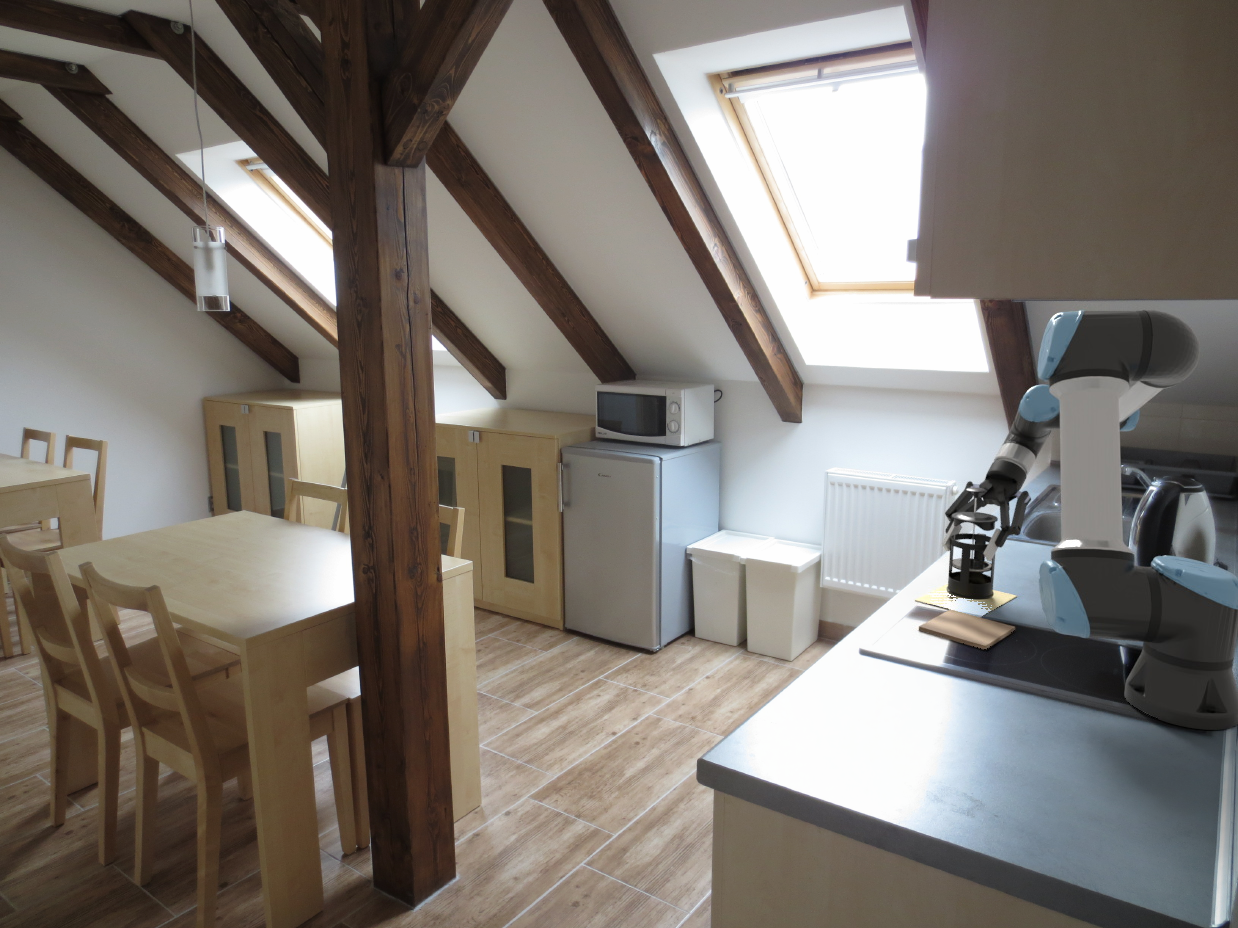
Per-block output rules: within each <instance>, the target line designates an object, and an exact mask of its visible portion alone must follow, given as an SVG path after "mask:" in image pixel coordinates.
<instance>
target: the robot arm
mask: <svg viewBox="0 0 1238 928" xmlns="http://www.w3.org/2000/svg"><path fill="white" fill-rule="evenodd" d="M1200 355H1201V346H1200V342H1199V339H1198V336H1197V335H1196V333H1195V332H1194V330H1193V329H1192V327H1190V326H1189V324H1187V323H1186V322H1185V321H1184V320H1182V319H1181V318H1179V317H1177V316H1175V315H1173V314H1170V313H1168V312H1164V311H1159V310H1155V309H1154V310H1153V309H1151V310H1150V309H1149V310H1147V309H1144V310H1084V309H1081V310H1076V311H1075V310H1073V311H1062V312H1061V311H1060V312H1057V313H1056V314H1054V315H1053V316H1052V317H1051V318H1050V320H1049V321H1048V323H1047V325H1046V327H1045V330H1044V333H1043V337H1042V340H1041V344H1040V349H1039V354H1038V360H1037V361H1038V362H1037V377H1038V379H1039V380H1042V381H1044V382H1048V384H1038V385H1037V384H1036V385H1034V386H1031V387H1030V388H1029V389H1028V390H1027V391H1026V392H1025V394H1023V396H1022V398H1021V400H1020V403H1019V405H1018V409H1017V412H1016V415H1015V418H1014V419H1013V422H1012V425H1011V427H1010V430H1009V431H1008V434H1007V436H1006V437H1005V440H1004V442H1003V443H1002V444H1001V446H1000V448H999V450H998V452H997V454H996V455H995V457H994V459H993V462H992V463H991V464H990V467H989V468H988V470H987V472H986V475H985V478H984V480H983V481H982V482H980V483H979V484H978V483H973V482H972V481H971V480H969V481H967V482H966V485H965V487H964V490H962V492H961V493H960V494H959V495H958V496H957V498H956V499H955V500H954V501H953V502H952V504H951V505H950V506H949V507H948V509H947V510H946V511H945V513H944V515H945V516H946V518H947V520H948V521H949V523H948V524H947V526H946V528H945V534H946V535H945V536H944V539H943V541H942V542H941V544H942V546H943V548H944V551H947V552H950V542H951V536H953V535H954V540H955V535H956V534H960V532H961V530H962V529H963V526H962V525H961V524H960V525H958V526H954V518H953V517H952V514H954V513H957V512H974V506H975V498H974V492H969V491H966V489H967V488H972V487H976V488H983V489H986V490H987V492H984V493H979V495H978V498H977V503H976V512H978V511H979V510H980V509H981V508H985V507H987V506H988V505H992V506H993V505H995V506H996V507H999V516H1000V526H999V527H1000V528H996V527H995V529H994V532H993V534H992V536H991V537H992V538H991V540H990V542H987V544H988V545H987V547H986V549H985V551H984V553H983V554H984V556H985V559H986V560H987V561H986V562H992V558H993V556H994V554H995V555H996V552H997V550H998V549H999V548H1003V547H1004V545H1005V543H1006V541H1007V540H1008V537H1010V536H1011V535H1014V536H1020V534H1021V531H1022V527H1023V524H1024V519H1025V514H1026V510H1027V506H1028V505H1029V504H1030V502H1031V500H1032V497H1031V496H1030V493H1029V492H1028V491H1027V490H1022V491H1021V489H1022V488H1023V485H1024V484H1025V482H1026V479H1027V476H1028V475H1029V473H1030V472H1031V471H1032V470H1031V469H1032V467H1033V466H1034V464H1035V462H1036V460H1037V458H1038V456H1039V454H1040V452H1041V450H1042V449H1043V447H1044V445H1045V443H1046V441H1047V439H1048V438H1049V436H1050V434H1051V432H1052V430H1055V431H1056V430H1057V431H1058V430H1059V443H1060V444H1059V447H1060V448H1059V451H1060V452H1059V453H1060V454H1059V455H1060V456H1059V458H1060V459H1059V461H1060V462H1059V463H1060V526H1061V527H1060V539H1061V540H1060V542H1059V543H1058V544H1057V545H1055V546H1054V547H1053V548H1052V549H1051V550H1050V558H1049V559H1048V558H1047V560H1046V559H1045V560H1043V561H1042V562H1041V564H1040V566H1039V570H1038V574H1039V578H1038V587H1039V597H1040V603H1041V607H1042V610H1043V613H1044V616H1045V619H1046V621H1047V623H1048V625H1049V626H1050V628H1052V630H1054V631H1055V632H1056V633H1058V634H1061V635H1069V636H1075V637H1080V638H1083V639H1088V638H1094V639H1095V638H1096V639H1106V640H1118V641H1129V642H1130V641H1131V642H1142V650H1141V653H1140V655H1139V657H1138V658H1137V660H1136V662H1135V663H1134V666H1133V668H1132V669H1131V671H1130V673H1129V675H1128V676H1127V678H1126V680H1125V685H1124V693H1123V694H1124V695H1123V696H1124V698H1126V699H1125V700H1126V702H1127V703H1128V702H1129V703H1130V704H1129V703H1128V704H1129V705H1131V706H1132V705H1133V706H1134V707H1136V708H1138V709H1139V710H1141V711H1144V712H1146V713H1148V714H1150V715H1152V716H1154V717H1157V718H1158V719H1157V720H1159V721H1162V722H1163V723H1164V722H1165V723H1168V724H1172V725H1176V726H1179V727H1185V728H1188V729H1189V728H1190V729H1197V730H1203V731H1204V730H1206V731H1207V730H1208V731H1209V730H1210V731H1213V730H1214V731H1215V730H1216V731H1218V730H1220V731H1221V730H1226V729H1231V728H1234V727H1235V726H1237V725H1238V687H1237V683H1236V678H1235V675H1234V670H1233V668H1234V659H1235V653H1236V647H1237V640H1238V576H1236V575H1235V574H1234V573H1232V572H1230V571H1228V570H1226V569H1224V568H1223V567H1219V566H1217V565H1214V564H1210V563H1207V562H1205V561H1201V560H1196V559H1192V558H1187V557H1183V556H1175V555H1162V556H1161V555H1158V556H1155V557H1154V558H1153V560H1152V561H1151V562H1150V566H1139V565H1136V564H1135V563H1136V562H1135V561H1136V560H1135V555H1136V554H1135V552H1134V551H1133V550H1132V549H1131V548H1130V547H1128V546H1127V545H1126V544H1125V542H1124V536H1123V534H1124V532H1123V531H1124V530H1123V505H1122V504H1123V501H1122V496H1123V495H1122V470H1121V469H1122V467H1121V434H1120V432H1131V431H1133V430H1134V429H1135V428H1137V424H1138V422H1139V420H1140V409H1141V408H1142V407H1143V406H1144V405H1145V404H1146V403H1148V402H1149V401H1150V400H1151V399H1153V398H1155V396H1156V395H1157V394H1158V393H1160V392H1161V391H1162V390H1164V389H1168V388H1173V387H1175V386H1177V385H1179V384H1180V383H1182V382H1183V381H1185V380H1186V379H1187V378H1188V377H1189V376H1190V375H1191V374H1192V373H1193V372H1194V371H1195V369H1196V367H1197V365H1198V363H1199V360H1200ZM1015 499H1017V500H1016V502H1015V503H1016V504H1015V508H1014V512H1013V515H1012V520H1011V521H1010V502H1012V501H1013V500H1015ZM1133 706H1132V707H1133ZM1134 707H1133V708H1134ZM1136 708H1135V709H1136ZM1139 710H1138V711H1139ZM1141 711H1140V712H1141Z"/></svg>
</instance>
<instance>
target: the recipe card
mask: <svg viewBox="0 0 1238 928" xmlns="http://www.w3.org/2000/svg"><path fill="white" fill-rule="evenodd" d="M947 586H948V583H946V584H944V585H942V586H940V587H938V588H936V589H934V590H933V591H934V592H932V591H930V592H929V593H936V591H947ZM993 592H994V595H993V597H991V598H989V599H983V600H972V599H971V600H967V601H970V602H972V601H974V602H977V601H978V602H982V603H978V605H980V604H982V605H986V604H987V606H982V607H988V608H989V609H990V610H991V611H992V610H993V611H995V610H996V608H997V607H998V608H1000V607H1001V605H1002V606H1003V605H1005V604H1006V603H1009V602H1010V601H1011V600H1014V599H1015V598H1017V597H1018V595H1015V594H1011V593H1008V592H1007V593H1006V592H1003V591H999V590H995V589H993ZM937 593H939V594H940V593H942V594H943V593H948V592H937ZM927 594H928V593H926V594H924V595H922V596H920V597H917V598H916V599H914V601H915V602H918V603H921V602H924V603H923V604H925V603H927V604H926V605H929V604H933V605H935V604H936V605H937V604H939V605H941V604H944V603H935V604H934V603H931V602H930V601H932V602H934V601H938V602H939V601H941V602H943V601H947V600H944V598H945V599H947V598H949V599H953V598H956V599H958V598H960V597H951V596H953V595H951V596H950V597H948V596H949V595H947V596H946V595H940V596H943V597H931V596H932V595H927ZM949 594H950V593H949ZM934 596H936V595H934ZM937 596H939V595H937ZM944 596H946V597H944ZM931 599H938V600H931ZM939 599H942V600H939ZM963 599H964V598H963ZM948 601H951V602H952V601H953V600H948ZM955 601H956V600H955ZM983 602H985V603H983ZM945 604H947V603H945ZM991 605H992V606H991ZM999 606H1000V607H999ZM940 607H942V606H940ZM940 607H939V608H940ZM943 607H944V606H943ZM990 607H992V608H990ZM988 608H985V609H986V610H988ZM998 608H997V609H998ZM981 609H983V608H981ZM994 609H995V610H994ZM993 611H992V612H993ZM988 612H990V611H988ZM990 613H991V612H990Z"/></svg>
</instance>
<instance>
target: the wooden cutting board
mask: <svg viewBox="0 0 1238 928" xmlns="http://www.w3.org/2000/svg"><path fill="white" fill-rule="evenodd" d="M1014 630H1015V631H1016V626H1013V625H1010V624H1005V623H1002V622H998V621H995V620H991V619H987V618H984V617H981V618H980V617H977V616H973V615H969V614H966V613H962V612H958V611H955V610H951V609H950V610H946V611H945V612H942V613H941V614H939V615H938V616H936V617H933V618H931V619H930V620H928V621H926V622H924V623H923V624H921V625H919V626H918V631H920V632H923V633H927V634H930V635H934V636H937V637H941V638H944V639H947V640H949V641H950V640H951V641H953V642H957V643H960V644H963V643H964V645H967V646H970V647H973V646H974V648H977V647H978V649H980V648H981V650H984V649H986V650H987V648H988V649H989V648H991V647H992V646H994V645H995V644H997V643H998V642H1000V641H1001V640H1003V639H1005V638H1006V637H1007V636H1009V635H1011V634H1012V633H1013V631H1014ZM1015 631H1014V632H1015ZM1011 632H1012V633H1011ZM990 646H991V647H990Z"/></svg>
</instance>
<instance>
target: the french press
mask: <svg viewBox="0 0 1238 928" xmlns="http://www.w3.org/2000/svg"><path fill="white" fill-rule="evenodd" d="M966 491H969V492H974V496H973V499H974V498H975V506H974V512H957V513H954V514H952V517H953V518H954V526H958V525H961V524H964V523H968V524H969V523H970V524H973V525H972V533H970V532H969V533H967V532H965V533H963V532H962V533H959V534H956V535H955V540H954V535H953V536H951V542H950V551H949V559H948V560H949V563H948V576H947V577H948V579H947V580H948V581H947V584H948V586H947V592H948V593H950V594H951V595H954V596H956V597H960V598H965V599H973V600H983V599H989V598H991V597H993V595H994V592H993V590H994V579H995V578H994V576H995V565H996V564H995V563H996V553H995V554H994V556H993V558H992V560H991V562H990V561H986V560H985V559H986V557H985V556H984V554H983V553H984V551H985V549H986V547H987V545H988V543H989V542H990V540H991V538H992V536H989V535H987V534H985V533H980V532H977V533H975V532H976V531H975V530H976V526H977V527H978V528H980V529H981V530H983V531H985V532H990V531H993V530H994V531H995V530H996V522H998V520H999V518H998V516H996V515H994V514H991V513H984V512H978V511H976V503H977V498H978V495H979V493H984V492H987V490H986V489H983V488H976V487H972V488H967V489H966ZM959 540H971V543H966V542H962V541H959ZM954 547H955V548H958V549H962V550H961V558H960V557H959V558H955V559H954ZM953 568H954V569H956V570H959V571H953ZM987 572H990V575H988V574H984V573H987Z"/></svg>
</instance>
